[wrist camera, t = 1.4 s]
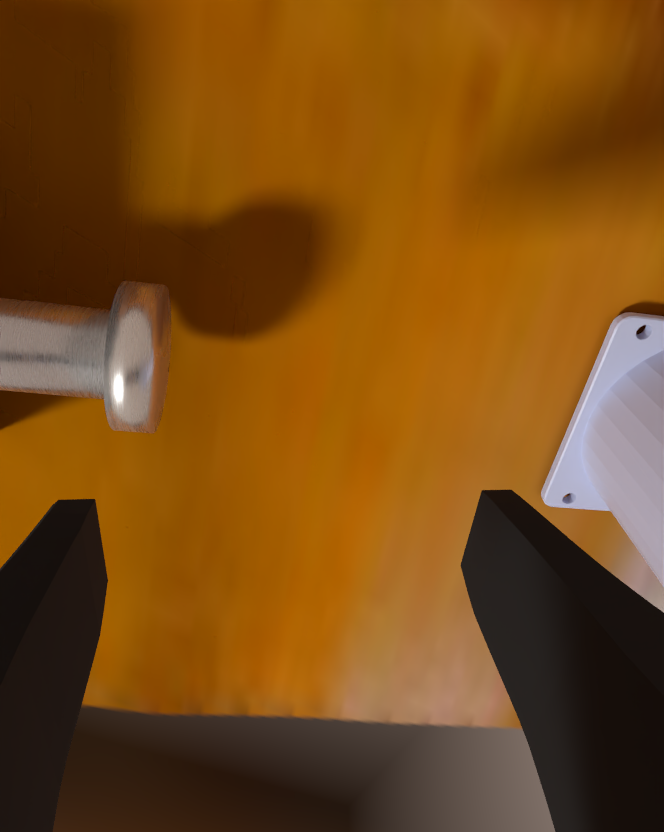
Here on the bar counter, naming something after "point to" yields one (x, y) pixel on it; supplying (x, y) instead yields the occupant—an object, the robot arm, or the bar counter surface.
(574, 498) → the robot arm
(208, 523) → the bar counter surface
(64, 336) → the lynch pin
